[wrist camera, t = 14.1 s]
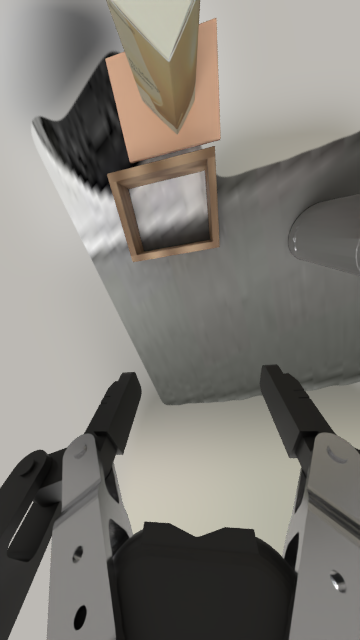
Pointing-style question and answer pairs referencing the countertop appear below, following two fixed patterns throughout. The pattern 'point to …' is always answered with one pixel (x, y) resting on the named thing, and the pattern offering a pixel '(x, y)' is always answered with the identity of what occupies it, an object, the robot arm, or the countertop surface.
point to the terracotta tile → (146, 127)
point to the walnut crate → (161, 172)
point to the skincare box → (161, 52)
